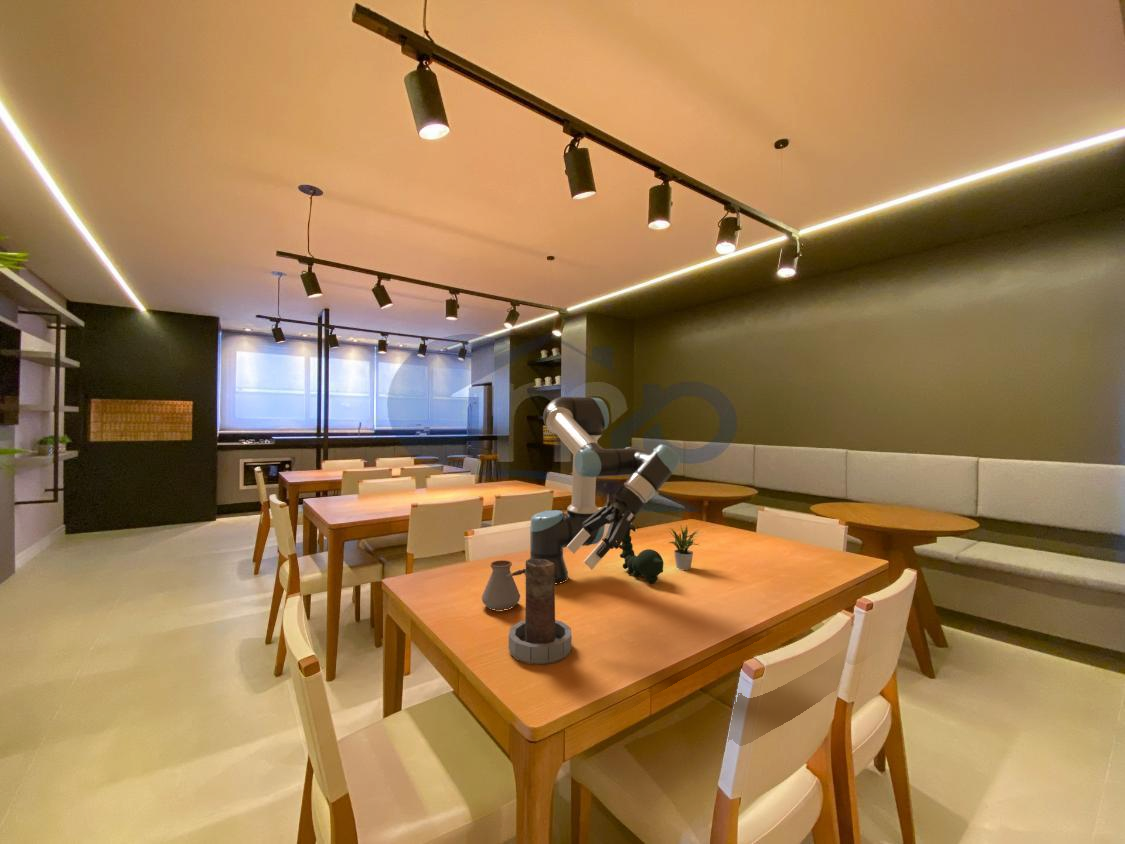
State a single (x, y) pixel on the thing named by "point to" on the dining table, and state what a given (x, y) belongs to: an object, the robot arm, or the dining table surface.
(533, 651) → the candle dish
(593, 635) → the dining table surface
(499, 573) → the coffee pot
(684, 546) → the house plant
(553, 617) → the candle
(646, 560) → the toy figurine
